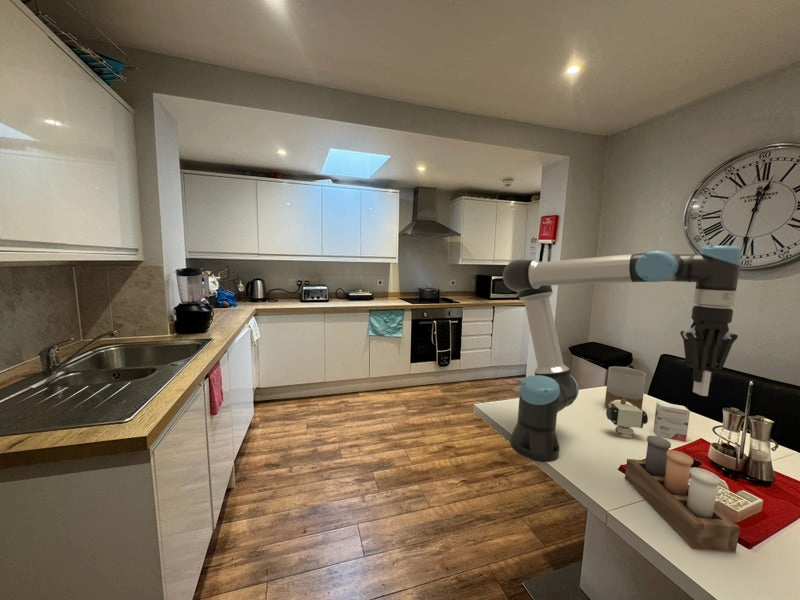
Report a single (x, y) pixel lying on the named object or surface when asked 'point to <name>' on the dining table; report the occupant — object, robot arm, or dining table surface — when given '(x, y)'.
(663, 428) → the ink box
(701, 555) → the dining table surface
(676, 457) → the plug terracotta
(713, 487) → the plug white
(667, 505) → the socket block
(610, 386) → the planter
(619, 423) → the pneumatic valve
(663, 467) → the plug charcoal
